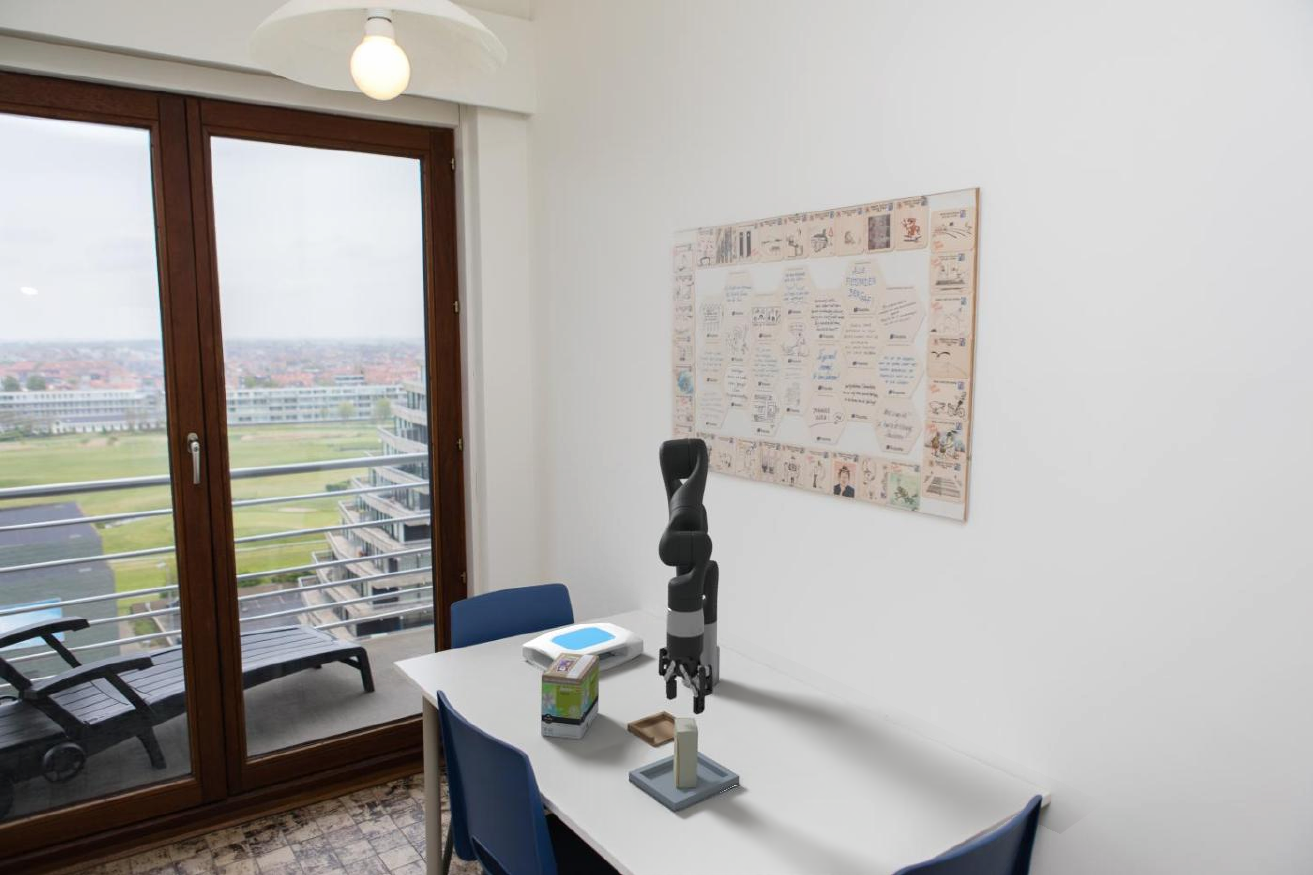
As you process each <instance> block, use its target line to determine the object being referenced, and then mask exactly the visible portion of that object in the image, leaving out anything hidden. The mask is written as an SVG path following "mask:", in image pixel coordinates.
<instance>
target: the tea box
mask: <svg viewBox="0 0 1313 875" xmlns="http://www.w3.org/2000/svg"><path fill="white" fill-rule="evenodd" d="M599 661H600V656H599V655H595V656H593V655H582V654H571V653H561V654H560V655H559V656H558V657H557V658H556V660H555V661H554V662H553V663H552V664H551V665H550V666H549V667H548V669H547V670H546V671H545V672H544V671H543V673H542V675H541V702H540V703H541V704H540V706H541V707H540V708H541V713H540V714H541V717H540V719H541V721H540V722H541V723H540V736H546V737H554V738H563V739H571V740H581V739H582V737H583V736H584V734H585V733H586V731H587V730H588V728H589V726H590V725H591V724H592V723H593V721H594V719H595V718H596V716H597V714H599V703H600V702H599V697H600V696H599V694H600V693H599V692H600V689H599V687H600V686H599V685H600V684H599V682H600V671H599Z"/></svg>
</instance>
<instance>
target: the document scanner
mask: <svg viewBox="0 0 1313 875" xmlns="http://www.w3.org/2000/svg"><path fill="white" fill-rule="evenodd" d="M607 652H608V653H610V654H613V655H612V656H610V657H608V658H604V659H601V660H599V672H601V671H605V670H608V669H610V668H613V667H614V668H615V667H617V666H619V665H623V664H625V663H628V662H629V661H631V660H633V659H634V658H637V657H638V656H640V655H641V654H643V652H644V640H643V639H642V638H640V637H639V636H638V635H637V634H636V633H635V632H633V631H630V630H629V629H627V628H624V627H621V626H618V625H616V624H614V623H611V622H597V623H595V622H594V623H584V624H583V623H581V624H575V625H571V626H567V627H564V628H561V629H556V630H552V631H550V632H546V633H543V634H541V635H539V636H538V637H535V638H534V639H532V640H529V641H528V642H525V643H523V644H522V657H523V658H524V659H525V660H526V661H527V662H528V664H530V665H531V666H532V665H534V666H536V667H538V668H540V669H541V670H540V669H539V670H540V671H542V670H543V671H542V672H544V671H546V670H547V669H548V667H549V666H550V665H551V664H552V663H553V662H554V661H555V660H556V658H557V657H558V656H559V655H560V654H561V653H571V654H582V655H593V656H599V655H600V654H604V653H607ZM534 666H533V667H534ZM536 667H535V668H536ZM538 668H537V669H538Z"/></svg>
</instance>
